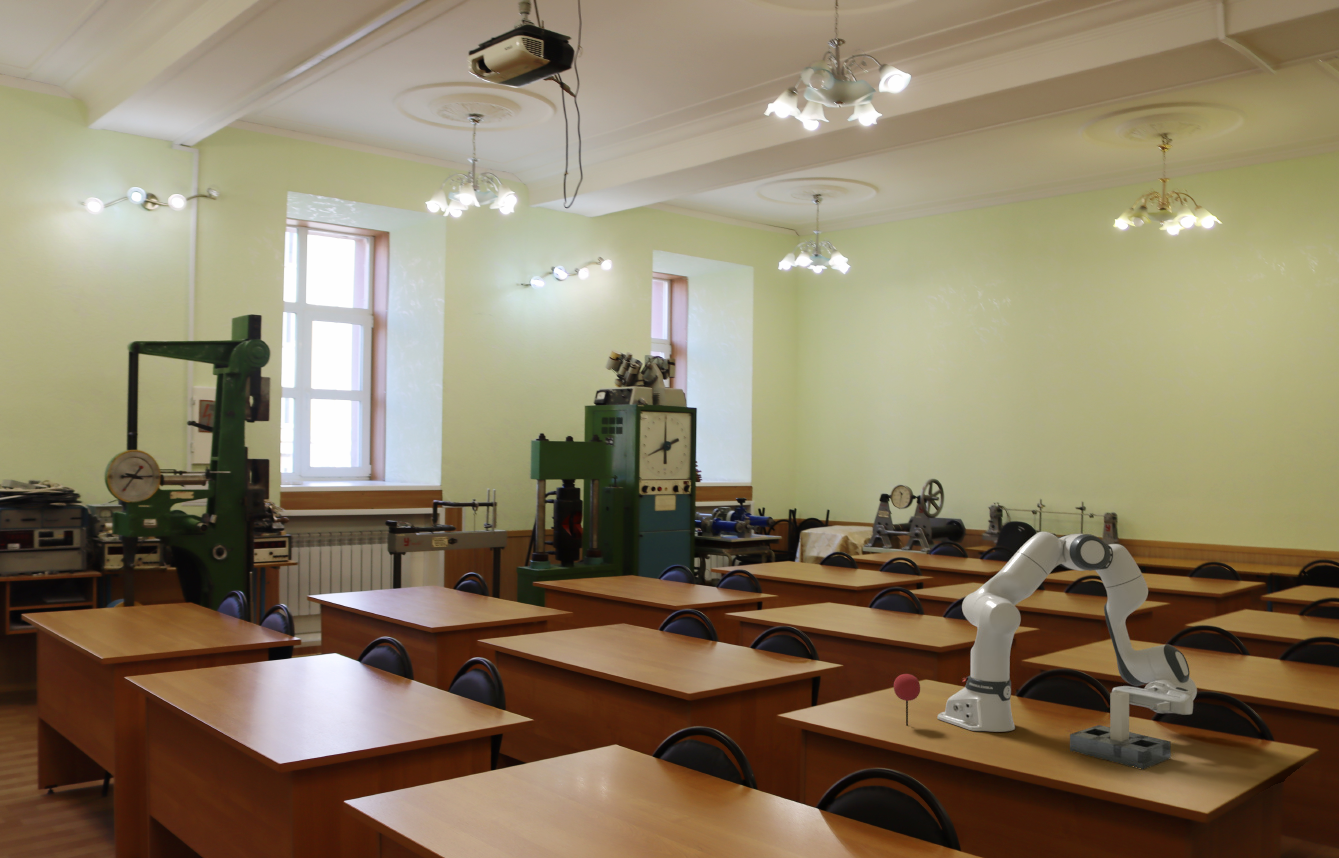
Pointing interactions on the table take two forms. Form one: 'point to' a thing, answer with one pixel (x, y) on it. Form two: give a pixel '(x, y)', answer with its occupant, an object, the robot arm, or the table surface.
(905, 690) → the lollipop
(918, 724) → the table surface
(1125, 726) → the clay bar
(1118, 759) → the rack
